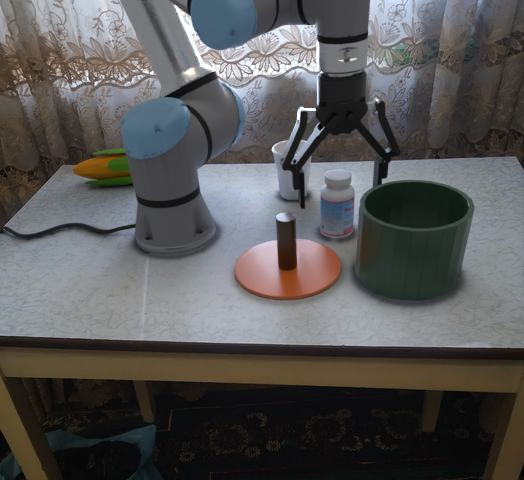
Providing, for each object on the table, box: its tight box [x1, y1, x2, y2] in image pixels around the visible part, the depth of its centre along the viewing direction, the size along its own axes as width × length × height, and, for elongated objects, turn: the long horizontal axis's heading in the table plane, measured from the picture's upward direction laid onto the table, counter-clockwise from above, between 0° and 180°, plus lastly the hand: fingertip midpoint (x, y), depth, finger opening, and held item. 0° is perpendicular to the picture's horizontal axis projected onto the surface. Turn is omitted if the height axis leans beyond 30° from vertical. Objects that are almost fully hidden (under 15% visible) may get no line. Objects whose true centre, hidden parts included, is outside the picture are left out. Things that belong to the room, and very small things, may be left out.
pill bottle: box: [319, 168, 356, 239], centre depth 95 cm, size 6×6×11 cm
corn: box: [71, 147, 133, 187], centre depth 120 cm, size 7×8×20 cm
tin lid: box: [234, 211, 342, 301], centre depth 86 cm, size 18×18×10 cm
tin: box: [354, 179, 476, 302], centre depth 83 cm, size 17×17×12 cm
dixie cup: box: [271, 139, 313, 201], centre depth 108 cm, size 8×8×10 cm
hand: (339, 200), depth 94 cm, fingers open, 13 cm apart
